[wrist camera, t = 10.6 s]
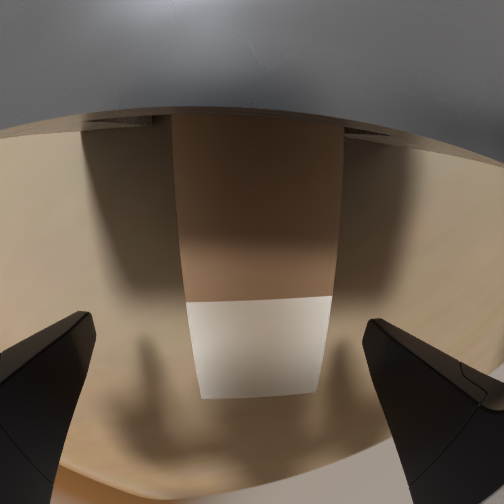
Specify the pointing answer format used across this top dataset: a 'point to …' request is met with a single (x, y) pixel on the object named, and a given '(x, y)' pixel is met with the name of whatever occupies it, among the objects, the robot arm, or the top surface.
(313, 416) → the top surface
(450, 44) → the grey u-shaped block
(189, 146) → the plug rod
